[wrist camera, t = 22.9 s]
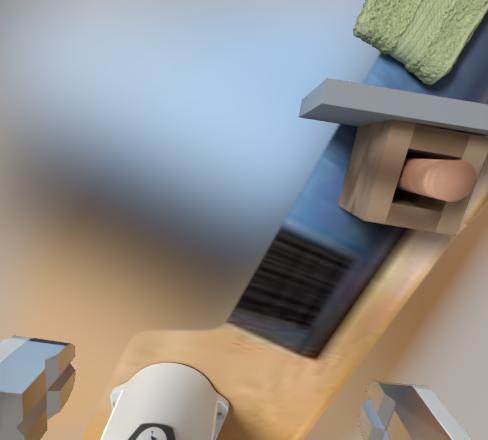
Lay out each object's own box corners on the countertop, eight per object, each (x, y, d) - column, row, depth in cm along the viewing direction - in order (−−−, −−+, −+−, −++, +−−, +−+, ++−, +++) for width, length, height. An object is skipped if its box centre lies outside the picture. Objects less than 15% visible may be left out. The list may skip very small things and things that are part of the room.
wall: (486, 147, 34) (583, 145, 24) (298, 117, 33) (322, 103, 23) (492, 130, 33) (594, 122, 24) (302, 99, 32) (327, 78, 23)
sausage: (393, 186, 35) (467, 204, 23) (366, 182, 35) (428, 198, 23) (400, 159, 34) (482, 163, 23) (374, 155, 34) (442, 157, 22)
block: (409, 217, 36) (455, 235, 28) (337, 205, 36) (363, 220, 28) (435, 140, 34) (493, 138, 26) (358, 126, 33) (393, 119, 25)
